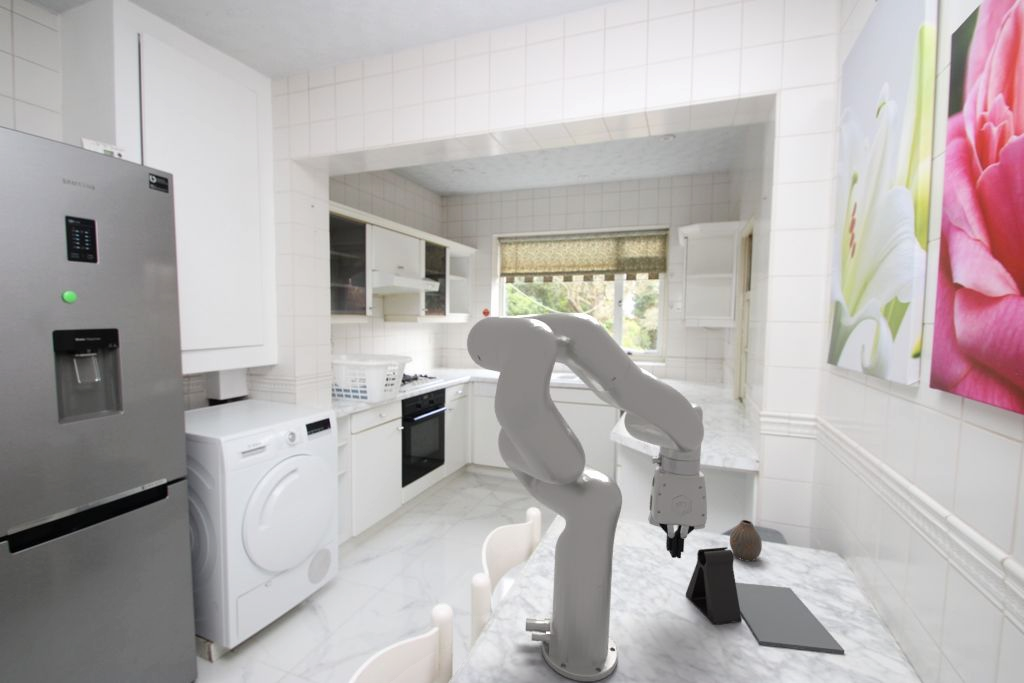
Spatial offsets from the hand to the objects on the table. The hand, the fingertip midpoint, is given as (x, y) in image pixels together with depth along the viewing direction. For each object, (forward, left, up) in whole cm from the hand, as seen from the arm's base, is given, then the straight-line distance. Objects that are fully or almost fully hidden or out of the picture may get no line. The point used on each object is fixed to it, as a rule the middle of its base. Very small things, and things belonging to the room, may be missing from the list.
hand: (674, 554), depth 87 cm
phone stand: (+8, 0, -11) cm, 13 cm away
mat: (+20, 0, -10) cm, 22 cm away
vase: (+23, +22, -10) cm, 33 cm away
